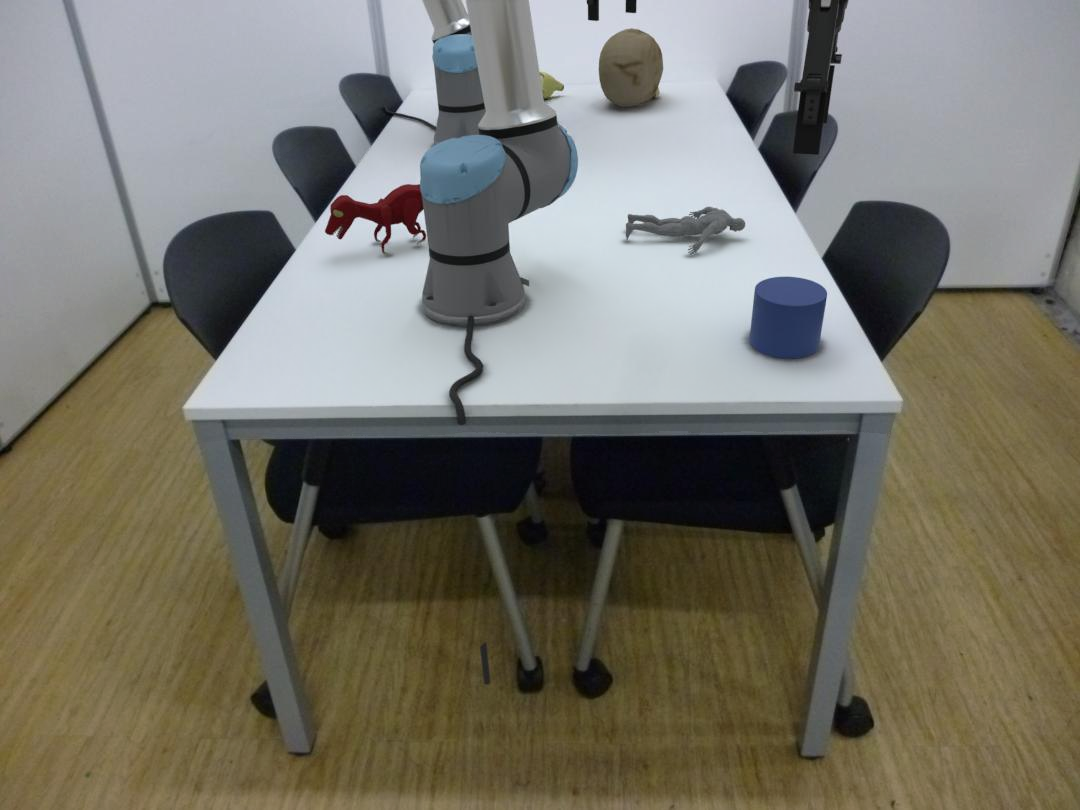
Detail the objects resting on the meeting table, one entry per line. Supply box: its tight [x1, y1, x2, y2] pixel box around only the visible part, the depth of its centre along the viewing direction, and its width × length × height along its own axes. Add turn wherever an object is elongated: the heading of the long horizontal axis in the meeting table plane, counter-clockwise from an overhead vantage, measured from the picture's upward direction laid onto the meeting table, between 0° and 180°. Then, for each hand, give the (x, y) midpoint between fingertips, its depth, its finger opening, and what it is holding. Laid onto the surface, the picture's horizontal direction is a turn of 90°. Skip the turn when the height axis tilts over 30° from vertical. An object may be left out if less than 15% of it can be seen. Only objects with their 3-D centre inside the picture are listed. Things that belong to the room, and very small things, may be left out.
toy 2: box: [539, 71, 565, 100], centre depth 235 cm, size 13×7×15 cm
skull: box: [598, 27, 664, 108], centre depth 224 cm, size 16×22×25 cm
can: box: [748, 276, 828, 360], centre depth 109 cm, size 9×9×8 cm
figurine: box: [625, 206, 746, 256], centre depth 143 cm, size 17×4×20 cm
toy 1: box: [324, 183, 427, 256], centre depth 141 cm, size 7×25×15 cm
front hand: (810, 137), depth 97 cm, fingers open, 13 cm apart
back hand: (612, 16), depth 196 cm, fingers open, 13 cm apart
